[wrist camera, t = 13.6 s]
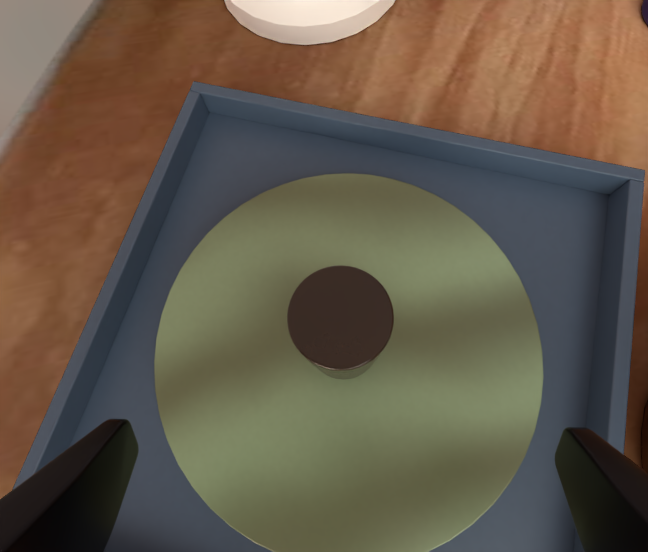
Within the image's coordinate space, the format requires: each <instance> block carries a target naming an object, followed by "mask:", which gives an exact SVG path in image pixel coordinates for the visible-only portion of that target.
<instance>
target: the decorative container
mask: <svg viewBox="0 0 648 552" xmlns="http://www.w3.org/2000/svg"><path fill="white" fill-rule="evenodd" d="M224 2H225V4H226V7H227V9H228V10H229V11H230V12H231V14H232V15H233V16H234V17H235V18H236V20H237V21H238V22H239V23H240V24H241V25H243V26H244V27H246V28H248V29H249V30H251V31H252V32H254V33H255V34H257V35H259V36H262V37H265V38H268V39H271V40H274V41H277V42H280V43H289V44H300V45H311V44H320V43H328V42H334V41H337V40H340V39H342V38H345V37H348V36H351V35H354V34H357V33H358V32H360V31H362V30H363V29H365V28H367V27H368V26H370V25H372V24H373V23H375V22H377V21H378V20H379V19H380V18H381V17H382V16H383V15H384V14H385V13H386V11H387V10H388V9H389V8H390V7H391V6H392V5H393V4H394V2H395V0H224Z"/></svg>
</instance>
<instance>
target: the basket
mask: <svg viewBox="0 0 648 552" xmlns="http://www.w3.org/2000/svg"><path fill="white" fill-rule="evenodd" d="M642 463H643V470H644V471H646V472H647V473H648V400H647V404H646V407H645V411H644V419H643V426H642Z"/></svg>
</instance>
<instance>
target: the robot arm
mask: <svg viewBox="0 0 648 552" xmlns="http://www.w3.org/2000/svg"><path fill="white" fill-rule="evenodd" d="M138 452H139V446H138V442H137V439H136V437H135V434H134V431H133V428H132V426H131V423H130V421H128V420H127V419H108V420H106V421H104V422H103V423H102V424H100V425H99V426H98V427H96V428H95V429H94V430H92V431H91V432H90V433H88V434H87V435H86V436H84V437H83V438H82V439H80V440H79V441H78V442H76V443H75V444H74V445H72V446H71V447H70V448H68V449H67V450H66V451H64V452H63V453H62V454H60V455H59V456H57V457H56V458H55V459H53V460H52V461H51V462H49V463H48V464H47V465H45V466H44V467H43V468H41V469H40V470H39V471H37V472H36V473H35V474H33V475H32V476H31V477H29V478H28V479H27V480H25V481H24V482H23V483H21V484H20V485H19V486H17V487H16V488H15V489H13V490H12V491H11V492H9V493H8V494H7V495H5V496H4V497H3V498H1V499H0V552H104V549H105V547H106V545H107V543H108V540H109V538H110V535H111V533H112V531H113V528H114V525H115V522H116V520H117V517H118V514H119V511H120V508H121V505H122V502H123V499H124V496H125V493H126V490H127V487H128V484H129V481H130V478H131V475H132V472H133V469H134V466H135V463H136V460H137V457H138ZM555 465H556V469H557V472H558V475H559V478H560V481H561V484H562V487H563V490H564V493H565V496H566V499H567V502H568V505H569V508H570V511H571V515H572V518H573V521H574V524H575V527H576V530H577V533H578V536H579V538H580V541H581V544H582V547H583V549H584V552H648V473H647V472H646V471H644V470H643V469H642V468H641V467H639V466H638V465H637V464H635V463H634V462H633V461H631V460H630V459H629V458H627V457H626V456H625V455H624V454H622V453H621V452H620V451H618V450H617V449H616V448H614V447H613V446H612V445H610V444H609V443H608V442H607V441H605V440H604V439H603V438H601V437H600V436H599V435H597V434H596V433H595V432H593V431H592V430H590V429H588V428H585V427H567V428H565V429H564V430H563V432H562V435H561V438H560V441H559V443H558V446H557V449H556V452H555Z"/></svg>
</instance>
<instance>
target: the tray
mask: <svg viewBox="0 0 648 552" xmlns="http://www.w3.org/2000/svg"><path fill="white" fill-rule="evenodd" d="M341 173H353V174H369V175H375V176H381V177H386V178H392V179H395V180H398V181H402V182H405V183H408V184H412V185H414V186H417V187H419V188H421V189H424V190H426V191H428V192H430V193H433V194H435V195H437V196H438V197H440V198H442V199H443V200H445V201H447V202H449V203H450V204H452V205H454V206H455V207H457V208H458V209H459V210H460V211H462V212H463V213H464V214H466V215H467V216H468V217H470V218H471V219H472V220H474V221H475V222H476V223H477V224H478V225H479V226H480V227H481V228H482V229H483V230H484V231H485V232H486V233H487V234H488V235H489V236H490V237H491V238H492V239H493V240H494V242H495V243H496V244H497V245H498V247H499V248H500V249H501V250H502V252H503V253H504V254H505V255H506V257H507V258H508V260H509V261H510V263H511V265H512V266H513V268H514V269H515V271H516V273H517V274H518V276H519V278H520V280H521V282H522V284H523V286H524V288H525V291H526V293H527V295H528V297H529V299H530V302H531V305H532V308H533V312H534V315H535V318H536V321H537V324H538V330H539V335H540V341H541V346H542V357H543V388H542V399H541V406H540V411H539V415H538V419H537V424H536V428H535V432H534V434H533V437H532V440H531V442H530V445H529V448H528V450H527V453H526V455H525V458H524V459H523V461H522V463H521V465H520V467H519V468H518V470H517V472H516V474H515V476H514V477H513V479H512V481H511V482H510V484H509V485H508V486H507V488H506V489H505V490H504V492H503V493H502V494H501V496H500V497H499V498H498V499H497V501H496V502H495V503H494V505H493V506H491V507H490V508H489V509H488V510H487V511H486V512H485V513H484V514H483V515H482V516H481V517H480V518H479V519H478V520H477V521H476V522H475V523H474V524H473V525H471V526H470V527H469V528H467V529H466V530H464V531H463V532H462V533H460V534H459V535H457V536H456V537H455V538H453V539H452V540H450V541H449V542H447V543H445V544H443V545H441V546H439V547H437V548H435V549H433V550H431V551H429V552H584V549H583V547H582V544H581V541H580V538H579V536H578V533H577V530H576V527H575V524H574V521H573V518H572V515H571V511H570V508H569V505H568V502H567V499H566V496H565V493H564V490H563V487H562V484H561V481H560V478H559V475H558V472H557V469H556V465H555V452H556V449H557V446H558V443H559V441H560V438H561V435H562V432H563V430H564V429H565V428H567V427H585V428H588V429H590V430H592V431H593V432H595V433H596V434H597V435H599V436H600V437H601V438H603V439H604V440H605V441H607V442H608V443H609V444H610V445H612V446H613V447H614V448H616V449H617V450H618V451H620V452H621V453H622V454H624V444H625V430H626V417H627V404H628V390H629V377H630V364H631V350H632V337H633V324H634V310H635V297H636V284H637V270H638V257H639V244H640V231H641V217H642V204H643V191H644V177H645V170H642V169H636V168H631V167H626V166H621V165H616V164H611V163H606V162H601V161H596V160H591V159H586V158H581V157H576V156H570V155H565V154H560V153H555V152H550V151H545V150H540V149H535V148H530V147H525V146H520V145H515V144H510V143H504V142H499V141H494V140H489V139H484V138H479V137H474V136H469V135H464V134H459V133H454V132H449V131H444V130H438V129H433V128H428V127H423V126H418V125H413V124H408V123H403V122H398V121H393V120H388V119H383V118H378V117H372V116H367V115H362V114H357V113H352V112H347V111H342V110H337V109H332V108H327V107H322V106H317V105H312V104H306V103H301V102H296V101H291V100H286V99H281V98H276V97H271V96H266V95H261V94H256V93H251V92H246V91H240V90H235V89H230V88H225V87H220V86H215V85H210V84H205V83H200V82H195V81H194V82H193V84H192V86H191V88H190V91H189V93H188V95H187V97H186V100H185V102H184V104H183V106H182V109H181V111H180V113H179V115H178V118H177V120H176V122H175V124H174V127H173V129H172V131H171V133H170V136H169V138H168V140H167V142H166V145H165V147H164V149H163V151H162V154H161V156H160V158H159V160H158V163H157V165H156V167H155V169H154V172H153V174H152V176H151V178H150V181H149V183H148V185H147V187H146V190H145V192H144V194H143V196H142V199H141V201H140V203H139V205H138V208H137V210H136V212H135V214H134V217H133V219H132V221H131V224H130V226H129V228H128V230H127V233H126V235H125V237H124V239H123V242H122V244H121V246H120V248H119V251H118V253H117V255H116V257H115V260H114V262H113V264H112V266H111V269H110V271H109V273H108V275H107V278H106V280H105V282H104V284H103V287H102V289H101V291H100V293H99V296H98V298H97V300H96V302H95V305H94V307H93V309H92V311H91V314H90V316H89V318H88V320H87V323H86V325H85V327H84V329H83V332H82V334H81V336H80V338H79V341H78V343H77V345H76V347H75V350H74V352H73V354H72V356H71V359H70V361H69V363H68V365H67V368H66V370H65V372H64V374H63V377H62V379H61V381H60V383H59V386H58V388H57V390H56V392H55V395H54V397H53V399H52V402H51V404H50V406H49V408H48V411H47V413H46V415H45V417H44V420H43V422H42V424H41V426H40V429H39V431H38V433H37V435H36V438H35V440H34V442H33V444H32V447H31V449H30V451H29V453H28V456H27V458H26V460H25V462H24V465H23V467H22V469H21V471H20V474H19V476H18V478H17V480H16V483H15V485H14V487H13V489H15V488H16V487H17V486H19V485H20V484H21V483H23V482H24V481H25V480H27V479H28V478H29V477H31V476H32V475H33V474H35V473H36V472H37V471H39V470H40V469H41V468H43V467H44V466H45V465H47V464H48V463H49V462H51V461H52V460H53V459H55V458H56V457H57V456H59V455H60V454H62V453H63V452H64V451H66V450H67V449H68V448H70V447H71V446H72V445H74V444H75V443H76V442H78V441H79V440H80V439H82V438H83V437H84V436H86V435H87V434H88V433H90V432H91V431H92V430H94V429H95V428H96V427H98V426H99V425H100V424H102V423H103V422H104V421H106V420H108V419H127V420H128V421H130V423H131V426H132V428H133V431H134V434H135V437H136V439H137V442H138V446H139V452H138V457H137V460H136V463H135V466H134V469H133V472H132V475H131V478H130V481H129V484H128V487H127V490H126V493H125V496H124V499H123V502H122V505H121V508H120V511H119V514H118V517H117V520H116V522H115V525H114V528H113V531H112V533H111V535H110V538H109V540H108V543H107V545H106V547H105V549H104V552H273V551H271V550H268V549H266V548H264V547H262V546H260V545H258V544H256V543H254V542H253V541H251V540H250V539H248V538H247V537H245V536H244V535H242V534H241V533H239V532H238V531H236V530H235V529H233V528H232V527H230V526H229V525H228V524H227V523H226V522H225V521H224V520H223V519H222V518H220V517H219V516H218V515H217V514H216V513H215V512H214V511H213V510H212V509H210V507H209V506H208V505H207V504H206V503H205V501H204V500H203V499H202V498H201V497H200V495H199V494H198V493H197V492H196V491H195V490H194V488H193V487H192V486H191V484H190V482H189V481H188V479H187V478H186V476H185V474H184V473H183V471H182V470H181V468H180V466H179V465H178V463H177V461H176V459H175V456H174V454H173V452H172V450H171V447H170V445H169V443H168V441H167V438H166V435H165V432H164V428H163V425H162V422H161V418H160V415H159V410H158V404H157V398H156V392H155V375H154V359H155V348H156V338H157V333H158V328H159V324H160V319H161V315H162V312H163V309H164V306H165V303H166V300H167V297H168V295H169V292H170V290H171V288H172V286H173V284H174V282H175V280H176V278H177V275H178V273H179V271H180V270H181V268H182V267H183V265H184V264H185V262H186V260H187V259H188V257H189V256H190V254H191V253H192V251H193V250H194V249H195V248H196V246H197V245H198V244H199V243H200V242H201V240H202V239H203V238H204V237H205V236H206V234H207V233H208V232H209V231H210V230H212V229H213V228H214V227H215V226H216V225H217V224H218V223H219V222H220V221H221V220H222V219H223V218H224V217H226V216H227V215H228V214H230V213H231V212H232V211H234V210H235V209H236V208H238V207H239V206H241V205H242V204H244V203H245V202H247V201H249V200H251V199H252V198H254V197H256V196H258V195H259V194H261V193H263V192H265V191H268V190H270V189H273V188H275V187H277V186H280V185H282V184H285V183H289V182H292V181H295V180H299V179H302V178H307V177H313V176H319V175H324V174H341ZM13 489H12V490H13Z"/></svg>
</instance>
